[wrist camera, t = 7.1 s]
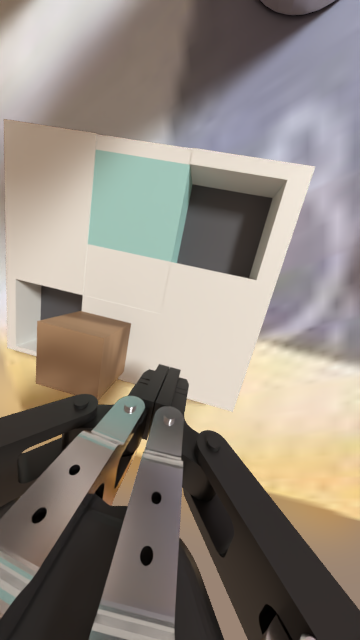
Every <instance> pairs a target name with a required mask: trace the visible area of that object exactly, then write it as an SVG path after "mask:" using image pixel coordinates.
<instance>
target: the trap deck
mask: <svg viewBox="0 0 360 640" xmlns="http://www.w3.org/2000/svg"><path fill="white" fill-rule="evenodd" d="M4 169H5V230H6V290H7V348H9V349H13V350H16V351H20V352H23V353H27V354H31V355H34V356H37V321H40V320H44V319H48V318H53V317H57V316H61V315H66V314H70V313H74V312H79V311H83V312H87V313H91V314H96V315H100V316H104V317H108V318H112V319H116V320H120V321H124V322H128V323H131V328H130V335H129V341H128V348H127V355H126V361H125V368H124V372H123V373H122V374H121V375H120V376H119V378H118V379H119V380H122V381H126V382H130V383H133V384H136V383H137V382H138V380H139V379H140V377H141V376H142V374H143V373H144V372H145V371H147V370H149V369H151V370H154V371H155V370H156V368H157V367H158V365H159V364H161V365H165V366H169V367H173V368H176V369H180V370H181V371H180V376H179V377H180V378H184V379H187V381H188V383H189V388H188V394H187V399H190V400H193V401H197V402H200V403H204V404H207V405H211V406H214V407H218V408H221V409H225V410H228V411H232V412H233V410H234V407H235V404H236V401H237V398H238V395H239V392H240V389H241V386H242V383H243V380H244V377H245V374H246V371H247V368H248V365H249V362H250V359H251V356H252V354H253V351H254V348H255V345H256V342H257V339H258V336H259V333H260V330H261V327H262V324H263V321H264V318H265V315H266V312H267V309H268V306H269V303H270V300H271V297H272V294H273V291H274V288H275V285H276V282H277V279H278V276H279V273H280V270H281V267H282V264H283V261H284V258H285V255H286V252H287V249H288V246H289V243H290V240H291V237H292V234H293V231H294V228H295V225H296V222H297V219H298V216H299V213H300V210H301V207H302V204H303V202H304V199H305V196H306V193H307V190H308V187H309V184H310V181H311V178H312V175H313V172H314V169H315V167H313V166H307V165H300V164H294V163H287V162H281V161H274V160H268V159H261V158H255V157H248V156H242V155H235V154H229V153H222V152H216V151H209V150H203V149H196V148H193V149H191V148H184V147H178V146H171V145H165V144H158V143H152V142H145V141H139V140H132V139H126V138H119V137H113V136H106V135H100V134H97V133H92V132H85V131H79V130H72V129H66V128H59V127H53V126H46V125H40V124H33V123H27V122H20V121H14V120H7V119H4ZM169 369H170V368H169Z"/></svg>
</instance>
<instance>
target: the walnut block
mask: <svg viewBox="0 0 360 640" xmlns="http://www.w3.org/2000/svg"><path fill="white" fill-rule="evenodd" d="M130 328H131V323H128V322H124V321H120V320H116V319H112V318H108V317H104V316H100V315H96V314H91V313H87V312H83V311H79V312H74V313H70V314H66V315H61V316H57V317H53V318H48V319H44V320H40V321H37V356H36V384H40V385H43V386H46V387H50V388H53V389H57V390H60V391H63V392H67V393H70V394H74V395H79V394H90V395H93V396H95V397H96V398H97V400H98V399H99V398H100V397H101V396H102V395H103V394H104V393H105V392H106V391H107V390H108V389H109V387H110V386H111V385H112V384H113V383H114V382H115V381H116V380H117V379H118V378H119V376H120V375H121V374H122V373H123V372H124V368H125V361H126V355H127V348H128V341H129V335H130Z"/></svg>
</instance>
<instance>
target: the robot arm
mask: <svg viewBox="0 0 360 640" xmlns="http://www.w3.org/2000/svg"><path fill="white" fill-rule="evenodd" d="M334 1H336V0H261V2H262V3H263V4H264V5H265V6H267V7H269V8H271V9H272V10H274V11H276V12H278V13H283V14H287V15H301V14H307V13H310V12H314V11H317V10H320V9H322V8H323V7H325V6H327V5H329V4H330V3H332V2H334ZM169 368H170V369H169ZM180 371H181V370H180V369H176V368H173V367H169V366H165V365H161V364H159V365H158V367H157V368H156V370H155V371H154V370H151V369H149V370H147V371H145V372H144V373H143V374H142V376H141V377H140V379H139V380H138V382H137V383H136V384H135V386H134V387H133V389H132V390H131V392H130V393H129V395H128V396H125V397H123V398H121V399H119V400H118V401H117V402H116V403H115V404H114V405H98V400H97V398H96V397H95V396H93V395H90V394H79V395H75V396H72V397H69V398H65V399H62V400H59V401H55V402H52V403H48V404H45V405H42V406H38V407H35V408H32V409H28V410H25V411H21V412H18V413H15V414H11V415H8V416H5V417H1V418H0V640H224V638H223V635H222V633H221V630H220V627H219V624H218V621H217V619H216V616H215V613H214V610H213V608H212V605H211V602H210V599H209V596H208V594H207V591H206V588H205V586H204V582H203V580H202V577H201V574H200V572H199V569H198V567H197V565H196V563H195V560H194V558H193V556H192V555H191V553H190V551H189V550H188V548H187V546H186V545H185V544H184V543H183V541H182V540H181V539H180V538H179V532H180V514H181V496H182V488H183V491H184V496H185V498H186V501H187V503H188V505H189V507H190V510H191V512H192V514H193V517H194V519H195V521H196V523H197V526H198V528H199V530H200V532H201V534H202V537H203V539H204V541H205V544H206V546H207V548H208V550H209V553H210V555H211V557H212V559H213V562H214V564H215V566H216V568H217V571H218V573H219V575H220V577H221V580H222V582H223V584H224V587H225V589H226V591H227V593H228V595H229V598H230V600H231V602H232V605H233V607H234V609H235V611H236V614H237V616H238V618H239V620H240V623H241V625H242V627H243V629H244V632H245V634H246V636H247V638H248V640H360V610H359V609H358V608H357V606H356V605H355V604H354V603H353V601H352V600H351V599H350V598H349V596H348V595H347V594H346V593H345V591H344V590H343V589H342V587H341V586H340V585H339V584H338V582H337V581H336V580H335V579H334V577H333V576H332V575H331V573H330V572H329V571H328V570H327V568H326V567H325V566H324V565H323V563H322V562H321V561H320V560H319V558H318V557H317V556H316V554H315V553H314V552H313V551H312V549H311V548H310V547H309V546H308V544H307V543H306V542H305V541H304V539H303V538H302V537H301V535H300V534H299V533H298V532H297V530H296V529H295V528H294V527H293V525H292V524H291V523H290V521H289V520H288V519H287V518H286V516H285V515H284V514H283V513H282V511H281V510H280V509H279V508H278V506H277V505H276V504H275V503H274V501H273V500H272V499H271V497H270V496H269V495H268V494H267V492H266V491H265V490H264V488H263V487H262V486H261V485H260V483H259V482H258V481H257V480H256V478H255V477H254V476H253V474H252V473H251V472H250V471H249V469H248V468H247V467H246V466H245V464H244V463H243V462H242V461H241V459H240V458H239V457H238V455H237V454H236V453H235V452H234V450H233V449H232V448H231V447H230V445H229V444H228V443H227V441H226V440H225V439H224V438H223V437H222V436H221V435H220V434H218V433H216V432H214V431H210V430H206V431H202V432H201V433H200V434H199V433H197V432H196V431H194V430H193V429H191V428H190V427H189V426H188V425H187V423H186V421H185V419H184V412H185V406H186V400H187V394H188V388H189V383H188V381H187V379H184V378H180V377H179V376H180ZM61 434H62V438H60V439H57V440H55V441H52V442H50V443H48V444H45V445H43V446H40V447H38V448H36V449H33V450H31V451H28V452H26V453H22V452H23V451H24V450H26V449H27V448H29V447H32V446H34V445H36V444H39V443H41V442H44V441H46V440H49V439H51V438H53V437H56V436H58V435H61ZM148 435H149V437H148ZM147 438H148V441H147V444H146V448H145V451H144V452H143V455H142V458H141V462H140V466H139V469H138V472H137V476H136V479H135V483H134V486H133V490H132V493H131V497H130V500H129V504H128V506H112V503H113V501H114V498H115V496H116V493H117V491H118V489H119V487H120V485H121V483H122V481H123V479H124V477H125V475H126V473H127V471H128V469H129V467H130V465H131V462H132V461H133V459H134V457H135V455H136V452H137V448H138V446H139V444H140V442H141V439H145V440H147Z"/></svg>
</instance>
